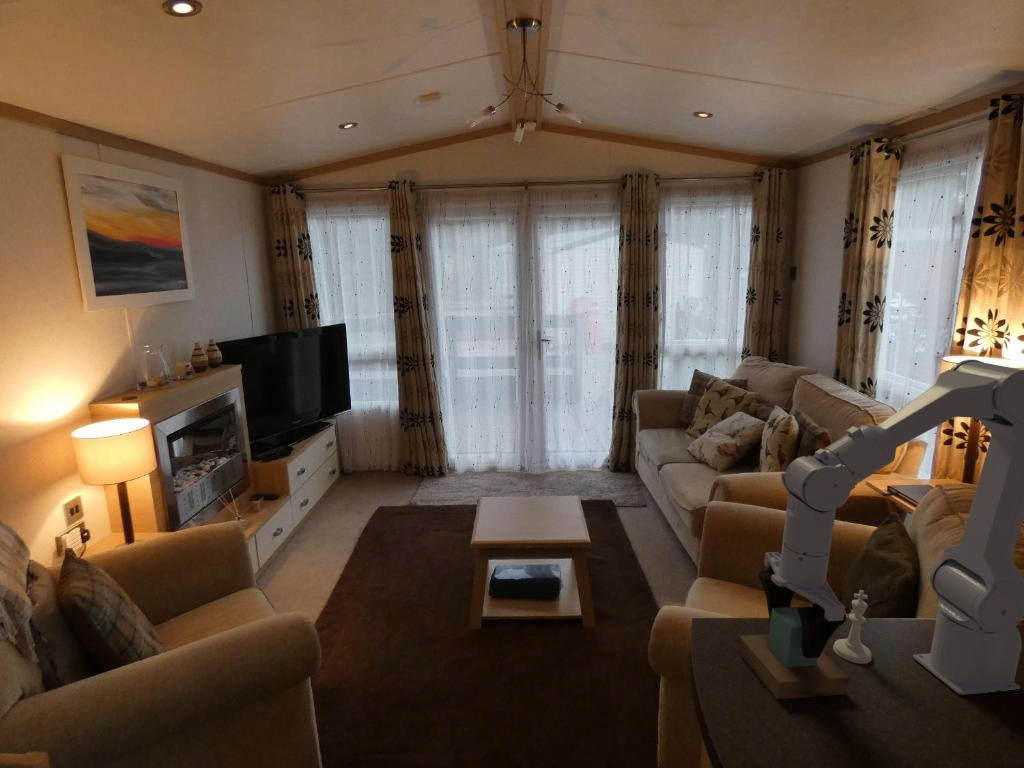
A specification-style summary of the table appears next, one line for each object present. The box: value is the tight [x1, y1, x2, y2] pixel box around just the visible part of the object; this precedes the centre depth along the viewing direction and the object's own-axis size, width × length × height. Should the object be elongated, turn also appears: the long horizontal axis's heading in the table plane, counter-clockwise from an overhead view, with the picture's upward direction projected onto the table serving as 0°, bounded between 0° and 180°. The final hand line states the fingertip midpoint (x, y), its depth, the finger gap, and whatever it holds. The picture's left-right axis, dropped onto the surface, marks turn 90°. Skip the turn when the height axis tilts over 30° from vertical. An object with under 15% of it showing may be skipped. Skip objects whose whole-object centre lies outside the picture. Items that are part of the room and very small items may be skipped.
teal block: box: [767, 605, 818, 668], centre depth 81 cm, size 4×4×6 cm
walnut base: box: [737, 633, 850, 700], centre depth 82 cm, size 10×10×2 cm
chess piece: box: [833, 589, 872, 665], centre depth 86 cm, size 5×5×10 cm
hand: (793, 638), depth 81 cm, fingers open, 7 cm apart
